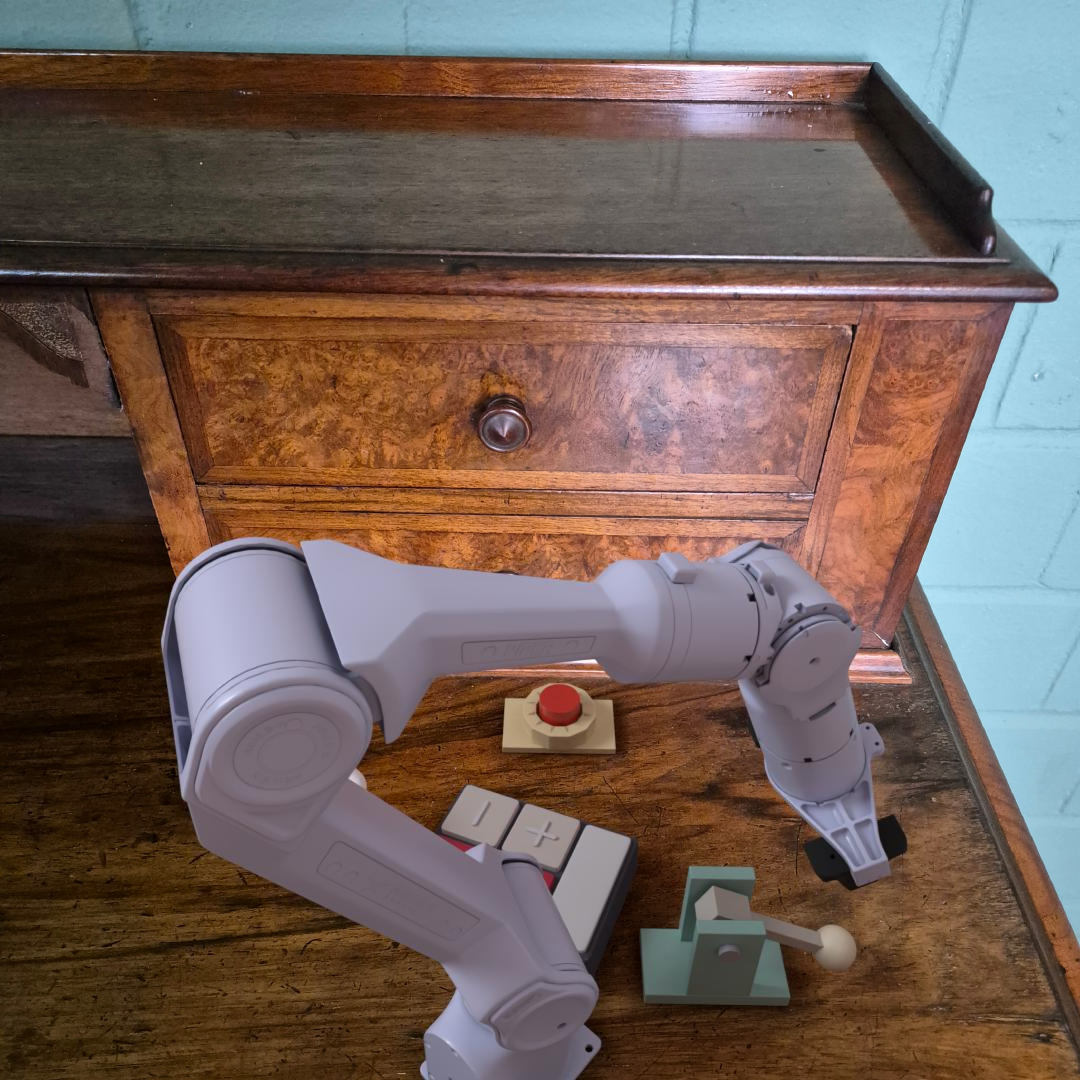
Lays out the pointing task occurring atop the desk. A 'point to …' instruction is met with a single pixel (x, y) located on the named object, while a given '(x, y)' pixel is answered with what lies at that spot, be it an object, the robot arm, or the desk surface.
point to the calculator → (554, 859)
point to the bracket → (713, 952)
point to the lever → (782, 929)
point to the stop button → (559, 705)
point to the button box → (558, 727)
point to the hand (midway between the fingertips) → (835, 828)
